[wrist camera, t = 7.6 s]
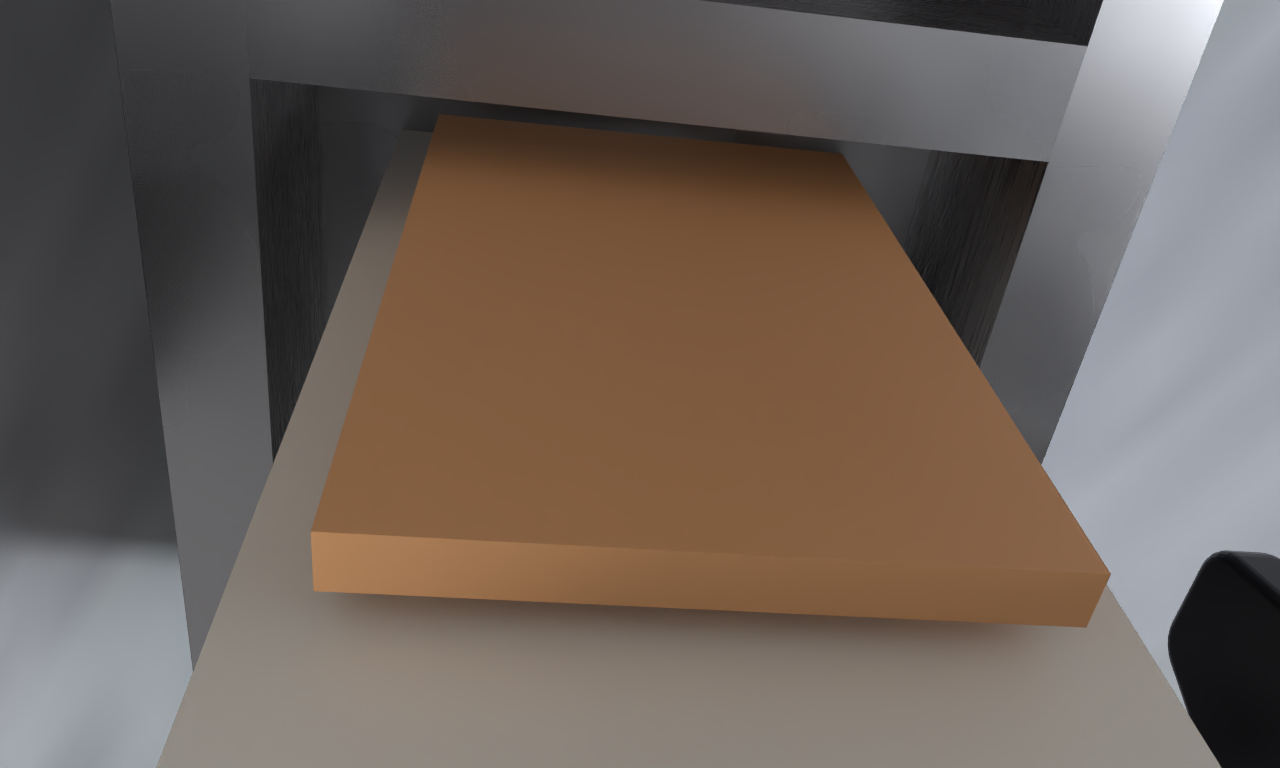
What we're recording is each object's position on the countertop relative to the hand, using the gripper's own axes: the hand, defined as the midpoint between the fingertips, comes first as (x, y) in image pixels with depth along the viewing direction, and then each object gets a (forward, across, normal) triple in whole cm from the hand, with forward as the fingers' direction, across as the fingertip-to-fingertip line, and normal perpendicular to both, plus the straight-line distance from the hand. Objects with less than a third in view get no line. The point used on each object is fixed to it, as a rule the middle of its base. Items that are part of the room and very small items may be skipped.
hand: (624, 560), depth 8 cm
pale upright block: (+3, 0, 0) cm, 3 cm away
